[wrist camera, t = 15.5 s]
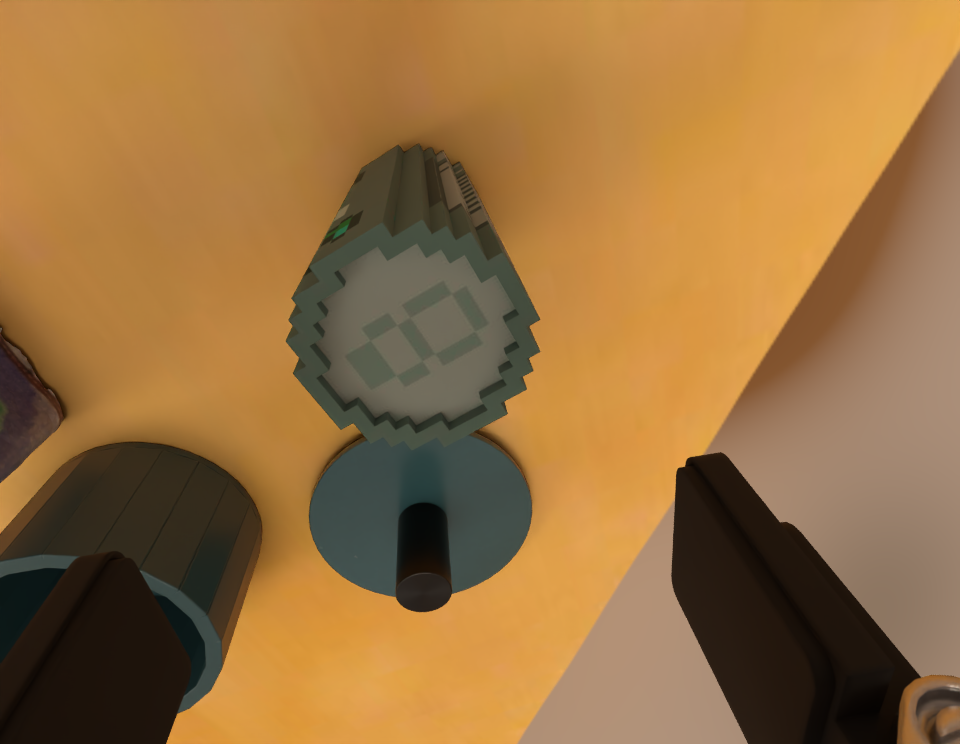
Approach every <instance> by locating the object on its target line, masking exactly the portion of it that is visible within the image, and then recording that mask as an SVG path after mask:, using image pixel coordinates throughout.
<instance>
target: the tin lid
mask: <svg viewBox="0 0 960 744" xmlns="http://www.w3.org/2000/svg"><path fill="white" fill-rule="evenodd" d="M531 517H532V501H531V496H530V491H529V487H528V484H527V482H526V479H525V477H524V474H523V473H522V471H521V469H520V468H519V466H518V465H517V463H516V462H515V461H514V460H513V458H512V457H511V456H510V455H509V454H508V453H507V452H506V451H504V450H503V449H502V448H501V447H500V446H498V445H497V444H495V443H494V442H492V441H491V440H489V439H488V438H486V437H484V436H482V435H480V434H478V433H475V432H473V433H471V434H469V435H467V436H465V437H463V438H461V439H459V440H458V441H456V442H454V443H452V444H450V445H448V446H446V447H444V446H443V445H442V444H441V442H440V441H439V440H438V438H435V439H433V440H431V441H429V442H427V443H425V444H423V445H422V446H420V447H418V448H416V449H414V450H411V449H410V448H409V447H408V445H407V444H406V443H405V441H402V442H400V443H399V444H397V445H395V446H393V447H391V446H390V445H389V444H388V442H387V441H386V440H385V439H384V438H383V437H382V438H381V439H379V440H377V441H375V442H373V443H371V444H370V442H369V441H368V440H367V439H366V438H365V437H363V438H361V439H359V440H357V441H355V442H354V443H352V444H351V445H349V446H348V447H346V448H345V449H344V450H342V451H341V452H340V453H339V454H338V455H337V456H335V457H334V458H333V460H332V461H331V462H330V463H329V464H328V465H327V466H326V468H325V469H324V471H323V472H322V474H321V475H320V477H319V479H318V481H317V483H316V485H315V488H314V491H313V495H312V498H311V502H310V509H309V523H310V530H311V534H312V537H313V540H314V542H315V544H316V547H317V549H318V551H319V552H320V554H321V555H322V556H323V558H324V559H325V561H326V562H327V563H328V564H329V565H330V566H331V567H332V568H333V569H334V570H335V571H336V572H338V573H339V574H340V575H341V576H343V577H344V578H346V579H347V580H349V581H350V582H352V583H354V584H356V585H358V586H360V587H362V588H364V589H367V590H370V591H373V592H375V593H379V594H383V595H387V596H393V597H396V598H397V600H398V602H399V603H400V604H401V605H402V606H403V607H404V608H406V609H408V610H411V611H415V612H429V611H433V610H436V609H438V608H440V607H442V606H443V605H445V604H446V603H447V602H448V601H449V599H450V597H451V595H452V594H454V593H457V592H460V591H463V590H466V589H468V588H471V587H473V586H475V585H478V584H480V583H481V582H483V581H485V580H487V579H489V578H490V577H492V576H493V575H494V574H496V573H497V572H499V571H500V570H501V569H502V568H503V567H504V566H505V565H507V564H508V563H509V562H510V560H511V559H512V558H513V557H514V556H515V555H516V553H517V552H518V550H519V549H520V547H521V546H522V544H523V542H524V540H525V538H526V536H527V534H528V530H529V527H530V524H531Z"/></svg>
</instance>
